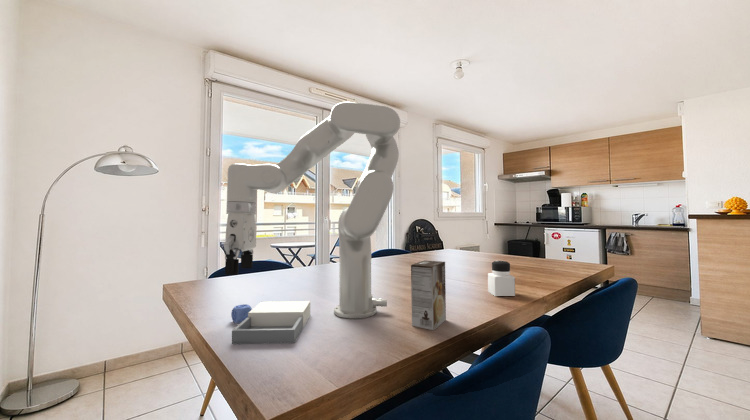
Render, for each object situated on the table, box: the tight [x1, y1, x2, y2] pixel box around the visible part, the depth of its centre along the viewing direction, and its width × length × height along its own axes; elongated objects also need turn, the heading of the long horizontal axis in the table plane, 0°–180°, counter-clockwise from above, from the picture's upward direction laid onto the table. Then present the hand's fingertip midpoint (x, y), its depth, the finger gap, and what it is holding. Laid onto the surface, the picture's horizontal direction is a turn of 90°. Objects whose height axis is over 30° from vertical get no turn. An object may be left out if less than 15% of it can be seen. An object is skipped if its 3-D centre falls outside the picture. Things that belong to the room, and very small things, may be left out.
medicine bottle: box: [487, 260, 516, 297], centre depth 110 cm, size 7×7×12 cm
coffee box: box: [410, 259, 447, 331], centre depth 81 cm, size 9×6×16 cm
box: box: [231, 316, 304, 345], centre depth 73 cm, size 14×9×3 cm, turn 92°
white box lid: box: [248, 300, 311, 328], centre depth 83 cm, size 14×10×4 cm
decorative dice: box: [230, 303, 253, 324], centre depth 84 cm, size 4×4×4 cm
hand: (239, 271), depth 84 cm, fingers open, 9 cm apart
